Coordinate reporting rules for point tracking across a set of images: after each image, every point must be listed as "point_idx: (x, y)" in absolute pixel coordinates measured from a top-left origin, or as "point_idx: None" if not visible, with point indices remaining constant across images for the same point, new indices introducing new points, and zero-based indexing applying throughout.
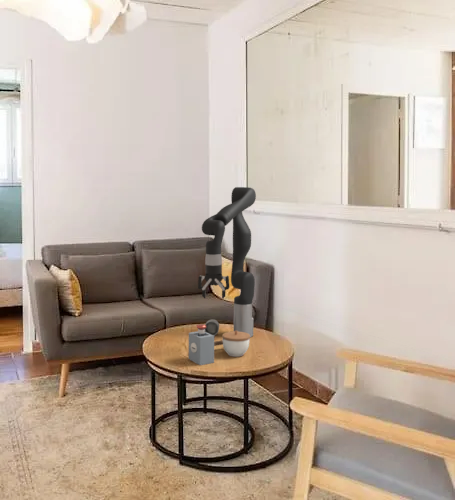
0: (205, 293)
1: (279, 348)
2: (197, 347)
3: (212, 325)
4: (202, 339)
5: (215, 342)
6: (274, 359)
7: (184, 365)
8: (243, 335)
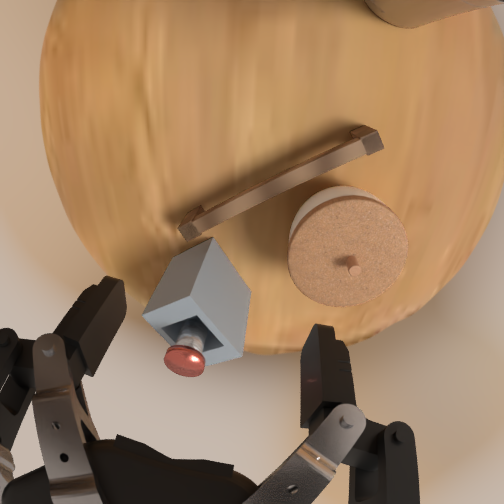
0: (103, 326)
1: (483, 177)
2: None
3: None
4: None
5: (261, 202)
6: (429, 276)
7: None
8: (377, 275)
